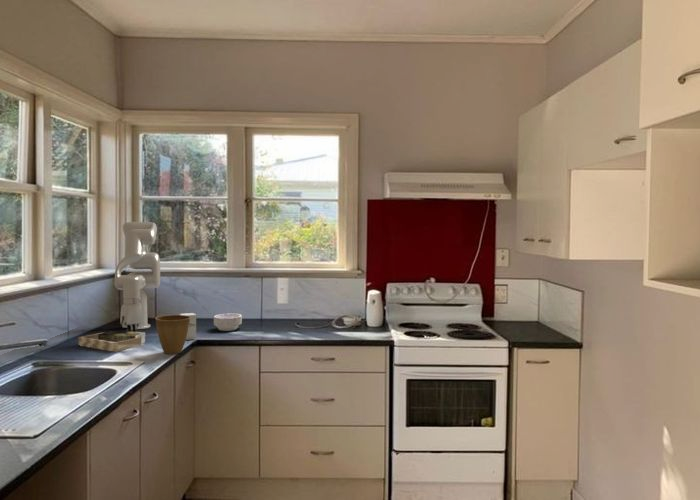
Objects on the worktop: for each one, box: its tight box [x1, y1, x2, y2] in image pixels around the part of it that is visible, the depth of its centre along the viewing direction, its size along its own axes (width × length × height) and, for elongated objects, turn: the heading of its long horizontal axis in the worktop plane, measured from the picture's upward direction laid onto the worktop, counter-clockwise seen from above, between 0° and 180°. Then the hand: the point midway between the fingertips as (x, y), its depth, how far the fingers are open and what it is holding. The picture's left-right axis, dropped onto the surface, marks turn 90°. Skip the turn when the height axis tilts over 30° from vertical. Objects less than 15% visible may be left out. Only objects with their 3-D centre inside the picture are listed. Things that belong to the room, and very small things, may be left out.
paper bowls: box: [213, 312, 243, 332], centre depth 283 cm, size 15×15×8 cm
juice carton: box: [98, 330, 146, 345], centre depth 247 cm, size 20×10×6 cm, turn 85°
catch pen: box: [77, 331, 142, 353], centre depth 243 cm, size 26×14×4 cm, turn 62°
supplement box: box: [178, 312, 197, 341], centre depth 259 cm, size 7×7×13 cm
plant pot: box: [155, 314, 190, 355], centre depth 230 cm, size 15×15×16 cm
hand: (132, 337), depth 254 cm, fingers closed
